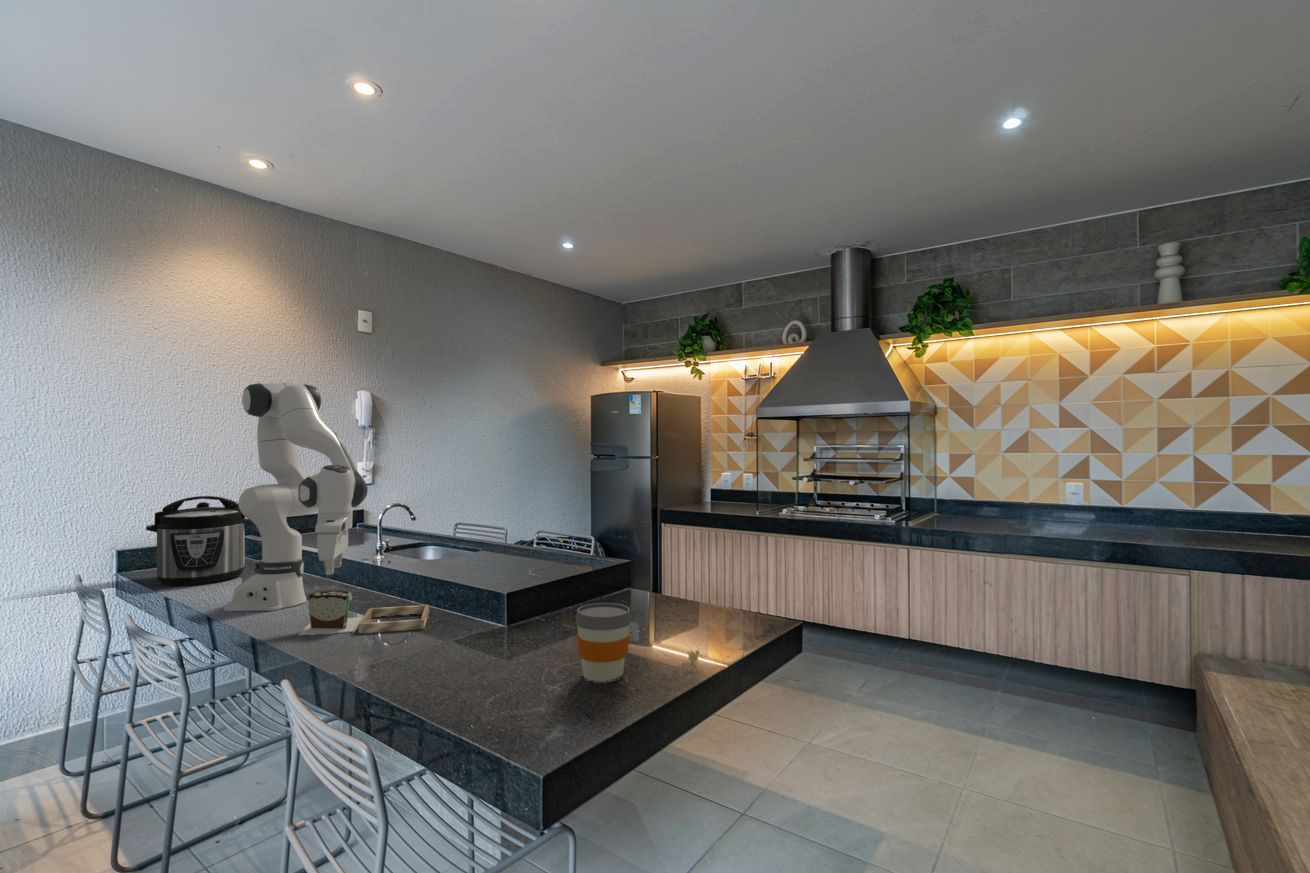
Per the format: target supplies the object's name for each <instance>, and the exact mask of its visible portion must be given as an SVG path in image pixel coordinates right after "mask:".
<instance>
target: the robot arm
mask: <svg viewBox="0 0 1310 873" xmlns="http://www.w3.org/2000/svg"><path fill="white" fill-rule="evenodd" d="M241 402H242V407H243V410H244V411H245V413H247V414H248V415H250V416H252V417H257V418H258V420H257V429H256V430H257V431H256V438H257V440H256V442H257V452H258V461H259V462H258V463H259V465H260V468H261V469H262V470H263V471H265V473H268V474H270V475H272V476H273V477H274V478H275V480H276V482H277V483H271V484H270V483H269V484H261V485H255V486H252V487H249V488H246V489H244V490H243V492H241V494H240V496H239V498H238V503H239V509H240V511H241V513H242V514H243V515H244V516H245V519H250V520H251V521H252V522H253V523H252V524H254V525H255V527H256V528H257V530H258V533H259V535H260V539H261V558H262V559H260V560H259V561H258V562H257V563H256V564H254V565H253V570H254V572H255V573H254V574H252V575H251V576H249V577H248V578H247V579H245V580H244V581H243V582H241V583H240V584H239V585H237V586H236V588H235V589H234V592H233V593H232V594H233V595H232V599H231V601H229V602H227V603H225V604H224V605H223V609H222V611H224V612H257V611H258V612H264V611H266V612H267V611H268V612H270V611H271V612H272V611H276V610H281V609H285V608H290V607H295V606H299V605H302V604H304V603H305V602H308V600H306V598H307V595H306V593H305V590H304V589H305V588H304V583H303V575H304V565H305V564H304V558H303V556H302V553H303V552H302V551H303V536H302V534H301V533H300V532H299V531H297V530H296V529H295V528H291V527H290V526H289V524H288V522H287V521H288V520H287V518H289V517H290V518H291V517H296V516H305V515H308V514H312V513H315V512H317V521H316V525H315V527H314V528H315V529H314V532H315V534H317V538H316V541H317V543H316V544H317V557H318V560H319V561H320V562H324V563H323V564H324V568H325V575H326V576H331V575H333V574H334V573H335V569H336V568H340V567H342V560H343V557H344V556H343V555H344V551H346V550H347V549H348V548H349V547H348V546H349V530H350V529H352V528H353V514H354V513H353V510H354V509H353V508H356V507H358V506H360V505H361V504H362V503H364V501H365V499H366V497H367V496H368V485H367V483H366V480H364V478H363V476H362V475H361V474H360V473H359V471H358V470H357V467H356V466H355V464H354V462H353V459H352V457H351V456H350V454H349V453H348V450H347V449H346V446H345V444H344V443H343V440H342V439H341V437H340V436H339V435H338V434H337V432H335V431H333V430H332V428H329V426H328V425H327V424H326V423H325V422H324V420H323V419H322V417H321V414H320V411H319V410H320V408H321V405H322V397H321V393H320V391H319V389H318V388H317V387H316V386H313V385H310V384H306V383H304V384H298V383H291V382H289V383H288V382H280V383H277V382H276V383H273V382H272V383H260V382H259V383H251V384H249V385H246V387H245V388H244V390H243V393H242V396H241ZM298 447H300V448H305V449H310V450H312V451H315V452H317V453H320V454H322V455H324V456H326V457H327V458H328V459H329V461H330V462H331V464H328V465H325V466H322V467H321V468H320V471H319V472H318V473H316V474H313V475H311V476H307V474H306V473H305V471H304V469H303V467H302V465H301V462H300V461H301V460H300V455H299V449H298Z"/></svg>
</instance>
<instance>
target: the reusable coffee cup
mask: <svg viewBox="0 0 1310 873" xmlns="http://www.w3.org/2000/svg"><path fill="white" fill-rule="evenodd" d="M630 608H631V607H629V606H627V605H624V604H622V603H615V602H614V603H613V602H595V603H589V604H584V605H581V606H580V607H578V608H577V610H576V617H575V624H576V626H577V634H576V640H577V641H576V642H577V643H576V644H577V651H578V652H577V653H578V656H579V658H580V662H581V668H582V669H581V670H582V671H581V672H582V677H583V676H584V677H585V678H587V679H589V680H594V681H607V680H611V679H615V678H617V677H619V676H621V675H622V674H623V675H624V668H625V667H624V666H625V659H626V657H627V656H628V652H629V644H630V636H631V634H630V631H629V630H630V624H631V623H632V617H631V610H630Z"/></svg>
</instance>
